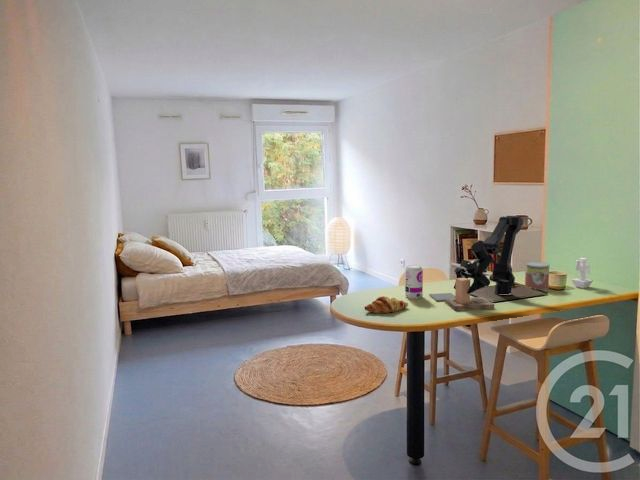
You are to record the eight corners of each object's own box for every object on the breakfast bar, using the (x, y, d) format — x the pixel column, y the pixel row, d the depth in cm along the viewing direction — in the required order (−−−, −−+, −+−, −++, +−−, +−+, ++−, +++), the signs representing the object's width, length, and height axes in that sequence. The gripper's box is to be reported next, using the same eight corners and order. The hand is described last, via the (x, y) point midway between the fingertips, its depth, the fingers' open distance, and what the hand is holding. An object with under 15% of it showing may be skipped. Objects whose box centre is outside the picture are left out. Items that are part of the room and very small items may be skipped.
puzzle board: (482, 301, 229) (482, 296, 229) (494, 308, 217) (494, 304, 216) (444, 302, 227) (445, 298, 227) (454, 310, 215) (454, 306, 215)
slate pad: (450, 294, 242) (450, 292, 242) (459, 300, 231) (459, 298, 231) (429, 295, 241) (429, 293, 241) (436, 301, 230) (436, 299, 230)
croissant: (404, 313, 224) (400, 296, 227) (414, 308, 215) (410, 291, 218) (362, 318, 217) (358, 301, 219) (371, 313, 208) (367, 295, 210)
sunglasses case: (522, 286, 255) (516, 275, 254) (511, 293, 254) (506, 283, 253) (502, 278, 273) (497, 268, 271) (492, 285, 272) (487, 276, 270)
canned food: (526, 289, 249) (527, 266, 247) (523, 284, 260) (523, 261, 258) (550, 290, 246) (551, 266, 245) (546, 284, 257) (547, 262, 255)
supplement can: (425, 296, 239) (425, 266, 237) (416, 300, 234) (416, 269, 231) (411, 293, 245) (411, 264, 243) (402, 297, 239) (402, 267, 237)
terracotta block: (463, 304, 225) (463, 277, 223) (469, 306, 221) (470, 279, 219) (455, 305, 223) (455, 278, 221) (461, 307, 219) (462, 280, 217)
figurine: (594, 287, 250) (596, 258, 248) (582, 289, 246) (584, 260, 244) (581, 284, 256) (582, 256, 254) (569, 286, 252) (570, 257, 250)
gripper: (458, 250, 229) (438, 275, 226) (485, 256, 212) (464, 284, 209) (471, 265, 233) (451, 290, 230) (499, 272, 216) (478, 300, 213)
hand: (460, 291), depth 221 cm, fingers open, 9 cm apart
